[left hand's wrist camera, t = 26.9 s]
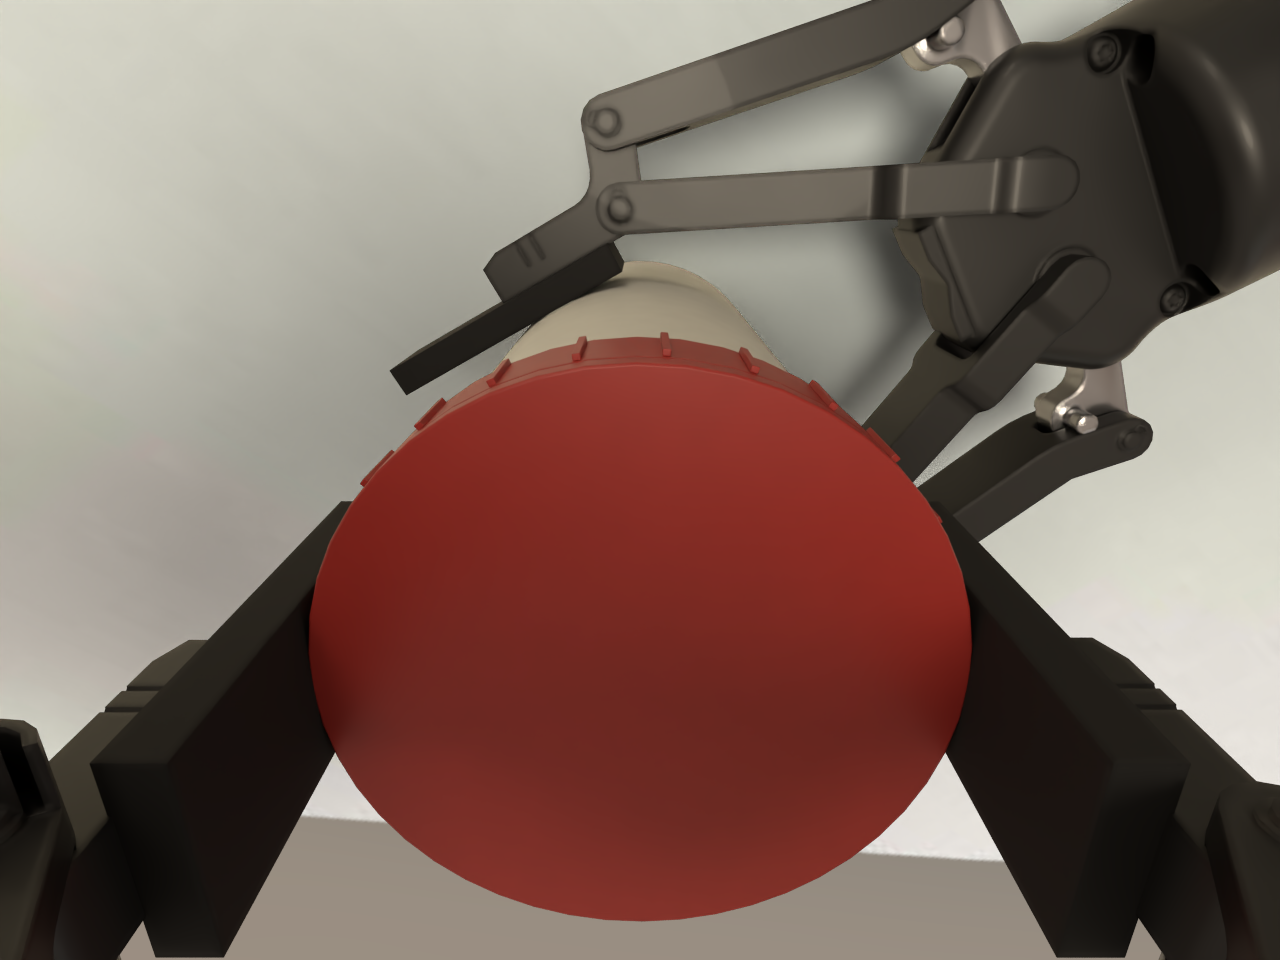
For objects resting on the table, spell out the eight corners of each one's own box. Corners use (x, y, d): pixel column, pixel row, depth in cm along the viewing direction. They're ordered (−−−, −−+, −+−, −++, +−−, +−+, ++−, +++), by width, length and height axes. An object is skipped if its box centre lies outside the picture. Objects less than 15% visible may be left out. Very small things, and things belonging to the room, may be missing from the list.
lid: (224, 529, 11) (155, 585, 10) (768, 197, 10) (794, 199, 8) (553, 906, 14) (542, 997, 13) (1017, 704, 13) (1072, 779, 11)
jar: (682, 210, 25) (752, 243, 9) (799, 420, 27) (1007, 719, 12) (474, 345, 26) (238, 563, 11) (603, 531, 29) (562, 918, 14)
